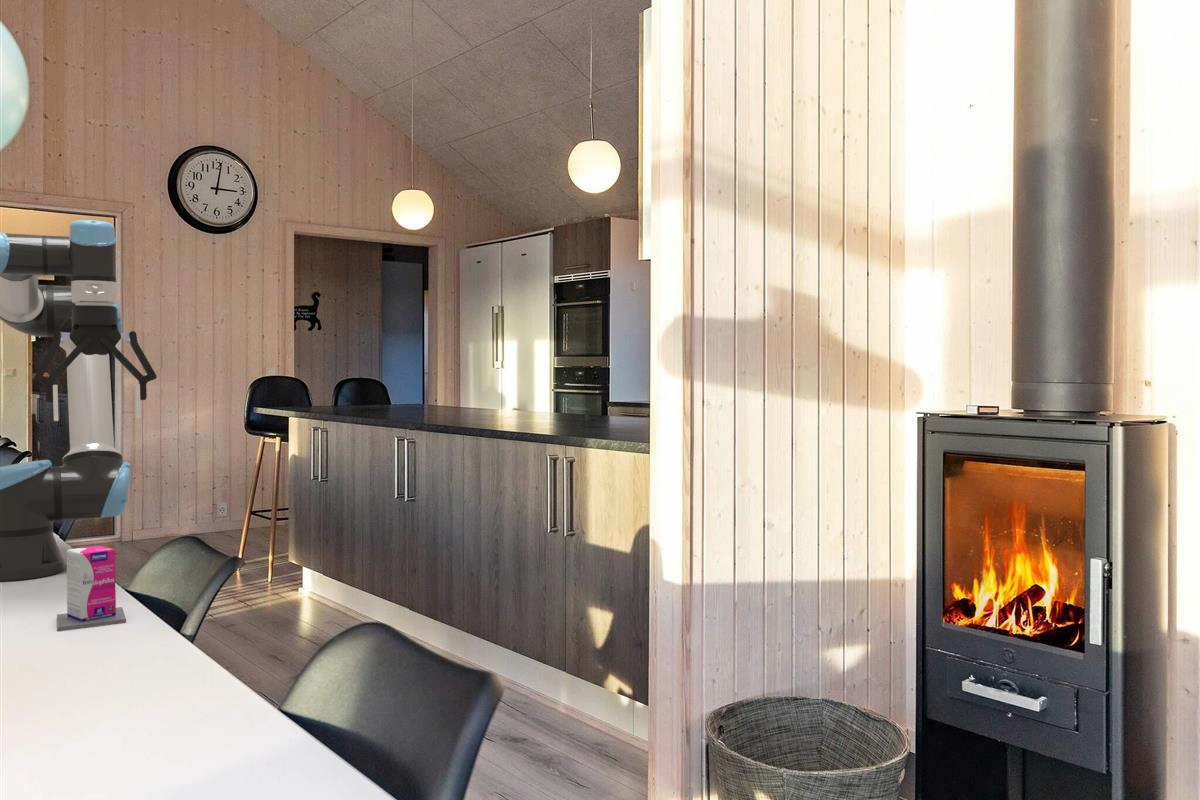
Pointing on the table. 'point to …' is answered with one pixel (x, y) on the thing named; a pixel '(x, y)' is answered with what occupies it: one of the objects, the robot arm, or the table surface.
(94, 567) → the supplement box
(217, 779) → the table surface
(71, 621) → the slate coaster
